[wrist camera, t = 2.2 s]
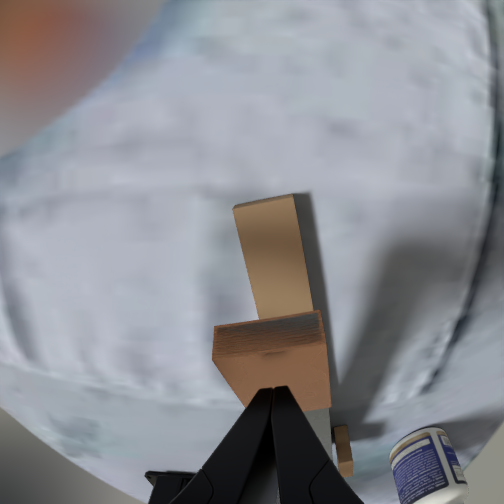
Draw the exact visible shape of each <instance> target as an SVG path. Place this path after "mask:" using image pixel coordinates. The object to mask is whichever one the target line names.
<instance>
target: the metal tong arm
mask: <svg viewBox="0 0 504 504" xmlns="http://www.w3.org/2000/svg"><path fill="white" fill-rule="evenodd" d="M212 361H213V362H214V364H215V365H216V367H217V368H218V370H219V371H220V372H221V374H222V375H223V377H224V378H225V380H226V381H227V383H228V384H229V385H230V387H231V388H232V390H233V391H234V393H235V394H236V395H237V397H238V398H239V400H240V401H241V402H242V404H243V405H244V407H245V408H246V407H247V405H248V404H249V403H250V401H251V400H252V398H253V397H254V395H255V394H256V393H257V391H258V390H259V389H261V388H268V387H272V388H273V389H274V387H276V386H284V385H287V386H288V387H289V388H290V390H291V392H292V394H293V395H294V397H295V399H296V401H297V402H298V404H299V406H300V407H301V409H302V411H303V413H304V414H305V416H306V418H307V419H308V421H309V423H310V425H311V426H312V428H313V430H314V431H315V433H316V435H317V436H318V438H319V440H320V442H321V443H322V445H323V447H324V448H325V450H326V452H327V453H328V455H329V457H330V458H331V460H332V461H333V459H332V443H331V429H330V416H329V407H331V394H330V380H329V368H328V356H327V345H326V339H325V333H324V328H323V322H322V317H321V312H320V310H314V311H309V312H303V313H297V314H291V315H285V316H279V317H273V318H267V319H260V320H254V321H247V322H240V323H233V324H226V325H219V326H214V337H213V351H212Z"/></svg>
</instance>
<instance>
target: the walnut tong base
mask: <svg viewBox="0 0 504 504" xmlns="http://www.w3.org/2000/svg"><path fill="white" fill-rule="evenodd" d="M232 210H233V214H234V218H235V222H236V227H237V231H238V235H239V239H240V243H241V247H242V251H243V255H244V259H245V264H246V268H247V272H248V276H249V280H250V284H251V288H252V292H253V296H254V300H255V304H256V308H257V312H258V316H259V320H260V319H267V318H273V317H279V316H285V315H291V314H297V313H303V312H309V311H313V305H312V299H311V293H310V287H309V281H308V275H307V269H306V263H305V258H304V252H303V246H302V241H301V235H300V230H299V225H298V219H297V214H296V209H295V204H294V199H293V195H292V194H288V195H283V196H278V197H273V198H268V199H263V200H258V201H253V202H248V203H243V204H238V205H235V206H234V207H233V209H232ZM334 434H335V445H336V452H337V460H338V468H339V472H340V474H341V475H342V477H343V478H344V477H349V476H353V459H352V453H351V447H350V441H349V435H348V430H347V425H344V426H338V427H334Z"/></svg>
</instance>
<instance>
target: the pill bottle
mask: <svg viewBox="0 0 504 504" xmlns="http://www.w3.org/2000/svg"><path fill="white" fill-rule="evenodd" d="M390 463H391V467H392V471H393V475H394V479H395V483H396V487H397V491H398V495H399V499H400V504H464V501H465V500H466V498H467V496H468V493H469V492H468V491H469V488H468V485H467V482H466V479H465V477H464V474H463V472H462V469H461V467H460V464H459V462H458V459H457V457H456V455H455V452H454V450H453V447H452V445H451V443H450V440H449V438H448V436H447V434H446V432H445V431H444V430H442V429H440V428H436V427H432V428H425V429H421V430H418V431H416V432H414V433H412V434H410V435H408V436H406V437H405V438H403V439H402V440H400V441H399V442H398V443H397V444H396V445H395V446H394V448H393V449H392V451H391V453H390Z"/></svg>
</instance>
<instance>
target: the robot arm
mask: <svg viewBox="0 0 504 504" xmlns="http://www.w3.org/2000/svg"><path fill="white" fill-rule="evenodd" d="M145 477H146V479H147V480H148V481H149V482H150V483H151V484H152V485H153V490H152V493H151V496H150V499H149V502H148V504H276V499H277V491H278V486H279V495H280V503H281V504H364V502H363V501H362V500H361V499H360V498H359V497H358V496H357V495H356V494H355V492H354V491H353V490H352V489H351V488H350V486H349V485H348V484H347V483H346V481H345V480H344V478H343V477H342V475H341V474H340V472H339V471H338V469H337V468H336V466H335V465H334V463H333V461H332V460H331V458H330V457H329V455H328V453H327V452H326V450H325V448H324V447H323V445H322V443H321V442H320V440H319V438H318V436H317V435H316V433H315V431H314V430H313V428H312V426H311V425H310V423H309V421H308V419H307V418H306V416H305V414H304V413H303V411H302V409H301V407H300V406H299V404H298V402H297V401H296V399H295V397H294V395H293V394H292V392H291V390H290V388H289V387H288V386H287V385H284V386H276V387H274V389H273V388H272V387H268V388H261V389H259V390H258V391H257V393H256V394H255V395H254V397H253V398H252V400H251V401H250V403H249V404H248V405H247V407H246V408H245V410H244V411H243V413H242V414H241V415H240V417H239V418H238V420H237V421H236V422H235V424H234V425H233V426H232V428H231V429H230V431H229V432H228V433H227V435H226V436H225V437H224V439H223V440H222V441H221V443H220V444H219V445H218V447H217V448H216V449H215V451H214V452H213V453H212V455H211V456H210V457H209V458H208V460H207V461H206V462H205V464H204V465H203V466H202V469H200V470H199V471H198V472H197V474H196V475H176V474H163V473H152V472H146V473H145Z"/></svg>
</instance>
